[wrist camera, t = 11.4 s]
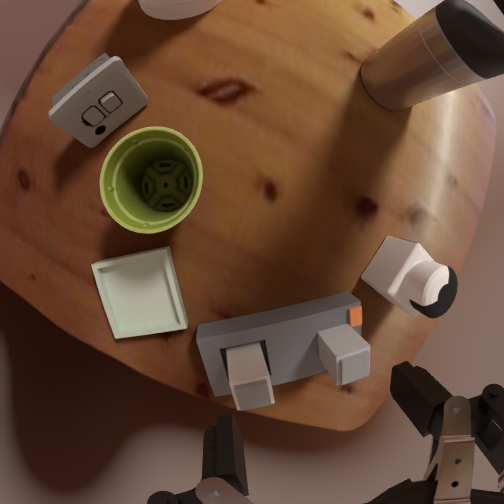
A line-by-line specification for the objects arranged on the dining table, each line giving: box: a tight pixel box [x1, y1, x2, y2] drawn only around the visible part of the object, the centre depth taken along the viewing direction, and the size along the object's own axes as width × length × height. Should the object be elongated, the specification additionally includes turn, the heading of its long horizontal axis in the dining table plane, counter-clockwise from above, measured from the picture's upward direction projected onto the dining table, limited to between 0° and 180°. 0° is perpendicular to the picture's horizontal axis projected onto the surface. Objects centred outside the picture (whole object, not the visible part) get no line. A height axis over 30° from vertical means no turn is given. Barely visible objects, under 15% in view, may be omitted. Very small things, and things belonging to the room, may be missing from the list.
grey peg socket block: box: [196, 291, 370, 397], centre depth 30 cm, size 20×9×11 cm, turn 100°
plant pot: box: [100, 127, 203, 234], centre depth 26 cm, size 9×9×9 cm
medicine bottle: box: [361, 236, 458, 318], centre depth 30 cm, size 7×7×12 cm
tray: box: [92, 246, 188, 339], centre depth 31 cm, size 10×10×2 cm
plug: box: [226, 341, 275, 411], centre depth 29 cm, size 4×4×10 cm
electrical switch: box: [48, 53, 149, 148], centre depth 23 cm, size 9×5×9 cm, turn 125°
